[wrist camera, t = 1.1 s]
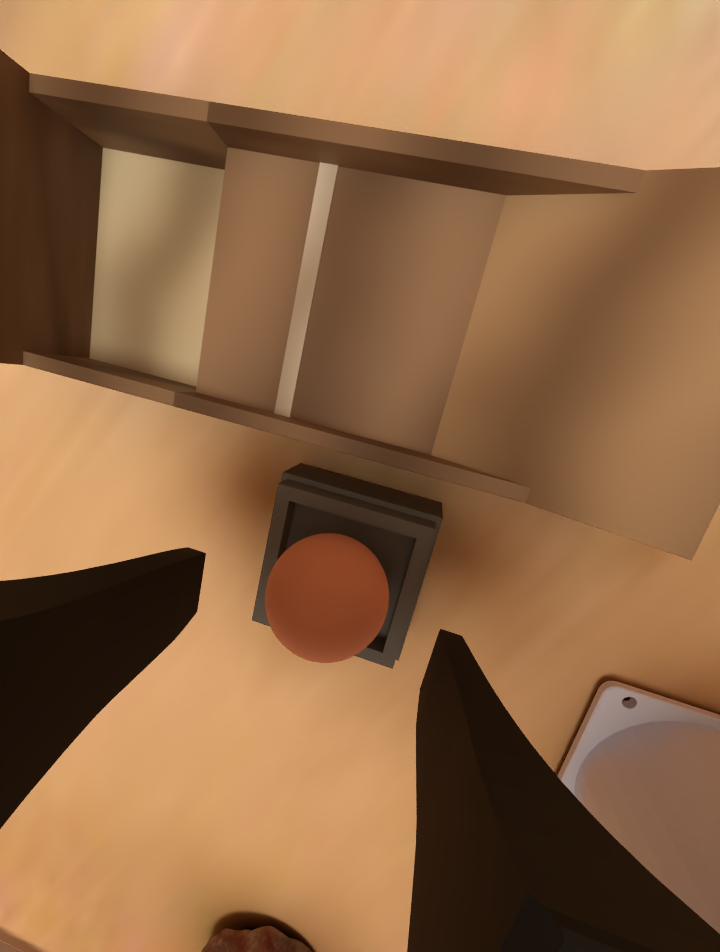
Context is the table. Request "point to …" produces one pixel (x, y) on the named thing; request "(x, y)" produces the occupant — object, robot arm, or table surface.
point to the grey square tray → (358, 539)
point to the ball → (327, 597)
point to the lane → (375, 294)
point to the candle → (254, 941)
